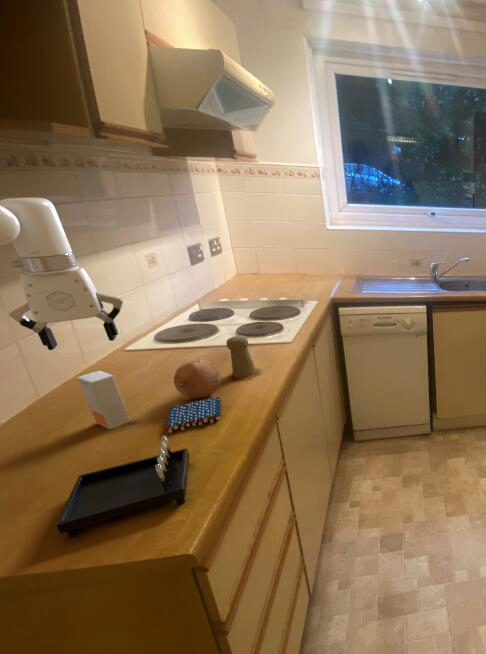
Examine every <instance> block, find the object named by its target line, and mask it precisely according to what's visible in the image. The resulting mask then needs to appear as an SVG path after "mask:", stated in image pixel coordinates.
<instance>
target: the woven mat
mask: <svg viewBox="0 0 486 654" xmlns="http://www.w3.org/2000/svg"><path fill="white" fill-rule="evenodd" d="M220 398H221V397H220V396H216V397H213V398H212V397H210V398H208V399H202V400H199V401H198V400H196V401H195V402H189V403H185V404H180V405H175V406H171V407H170V408H169V410H168V413H167V414H168V415H167V421H166V422H167V423H166V427H165V429H166V430H167V429H168V433H170V434H171V433H172V432H173V430H178V429H180V430H181V431H184V430H185V426H186V427H187V428H190V427H191V425H192V427H196V426H197V423H198V425H199V426H202V425H203V423H208V421H209V423H210V424H213V423H214V419H215V420H216V421H219V420H220V417H222V408H221V407H222V405H221V404H222V399H220Z"/></svg>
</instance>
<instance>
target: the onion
mask: <svg viewBox="0 0 486 654" xmlns="http://www.w3.org/2000/svg"><path fill="white" fill-rule="evenodd" d="M220 382H221V375H220V372H219V369H218V368H217V366H216V365H214V364H213V363H212V362H210V361H208V360H206V359H203V358H193V359H192V358H191V359H189V360H187V361H185V362H184V363H183V364H181V365H180V366H179V367H178V368H177V369H176V371H175V373H174V376H173V384H174V387H175V389H176V390H177V392H178V393H180V394H181V395H182V396H184V397H187V398H190V399H195V400H196V399H203V398H206V397H208V396H209V395H211V394H213V393H215V391H216V390H217V389H218V388H219V386H220Z"/></svg>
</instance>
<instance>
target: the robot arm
mask: <svg viewBox="0 0 486 654" xmlns="http://www.w3.org/2000/svg"><path fill="white" fill-rule="evenodd" d="M9 243H12V245H13V247H14V249H15V251H16V254H17V256H18V257H17V259H15V260H10V265H11V267H12V268H19V269H22V270H23V272H22V273H20V281H21V285H22V286H21V287H22V290H23V293H24V297H25V300H26V303H24V304H22V305H21V306H19V307H17V308H15V309H14V310H12V311H11V312H9V313H8V316H9V317H10V318H11V319H13V320H14V321H16V322H17V323H19V324H20V326H22V327H24V328H26V329H29V330H32V331H33V332H34V333H36V334H37V335H38V337H39V339H40V342H41V344H42V345H43V346H44V347H47V349H48V350H49V351H53V350H55V348H56V347H57V346H58V342H57V340H56V338H55V335H54V333H53V331H52V328H50V327H48V326H47V325H48V324H52V323H53V324H54V323H62V322H69V321H77V320H84V319H85V320H86V319H91V318H94V317H96V318H97V319H99V320H101V321H103V323H102V325H103V328H104V331H105V333H106V336H107V338H108V341H110V342H112V341H115V340H116V338H117V336H119V331H118V329H117V328H118V327H117V326H116V323H115V319H116V318H117V316H118V315H119V314H120V312H121V310H122V307H123V303H124V300H123V299H122V298H119V297H115V296H111V295H107V294H102V293H99V292H98V290H97V288H96V286H95V285H94V283H93V281H92V279H91V278H90V275H89V274H88V273H87V271H86V270H85V268H84V267H82V266H79V264H78V262H77V260H76V257H75V254H74V252H73V250H72V247H71V245H70V242H69V240H68V238H67V235H66V232H65V230H64V228H63V224H62V222H61V219H60V217H59V214H58V212H57V209H56V207H55V206H54V203H52V201H51V200H49V199H46V198H44V197H11V198H4V199H3V198H2V199H0V246H5V245H7V244H9ZM103 303H106V304H111V305H112V309H111V310H110V312H108V311H107V310H105V309H104V304H103ZM29 311H30V314H31V316H32V318H33V319H30V318H28V317H27V316H26V315H25V313H27V312H29Z"/></svg>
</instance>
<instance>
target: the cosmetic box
mask: <svg viewBox="0 0 486 654" xmlns="http://www.w3.org/2000/svg"><path fill="white" fill-rule="evenodd" d="M76 378H77V380H78V383H79V386H80V388H81V391H82V393H83V395H84V398H85V399H86V402H87V404H88V407H89V409H90V411H91V414H92V416H93V418H94V422H95V423H96V424H98V425H100V426H103V427H104V428H106V429H109V430H113V429H115V428H118V427H119V426H123V425H125V424H127V423H130V422H131V418H130V415H129V413H128V410H127V408H126V405H125V403H124V400H123V397H122V394H121V392H120V389H119V387H118V385H117V383H116V380H115V376H114V375H112V374H110V373H108V372H106V371H102V370H96V371H93V372H90V373H87V374H83V375H80V376H77V377H76Z"/></svg>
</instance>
